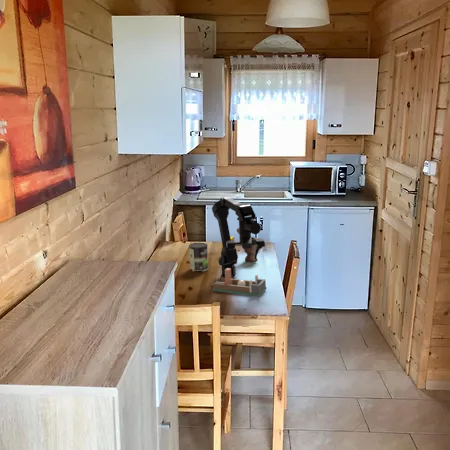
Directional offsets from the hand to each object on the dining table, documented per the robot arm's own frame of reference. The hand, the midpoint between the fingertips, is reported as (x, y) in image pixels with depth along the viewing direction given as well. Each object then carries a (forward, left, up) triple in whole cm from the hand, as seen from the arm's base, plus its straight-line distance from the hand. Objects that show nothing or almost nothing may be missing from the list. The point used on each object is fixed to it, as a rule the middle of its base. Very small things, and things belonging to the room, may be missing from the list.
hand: (245, 260), depth 243 cm
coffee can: (-35, +17, -14) cm, 41 cm away
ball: (0, -6, -10) cm, 12 cm away
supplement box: (-30, +47, -14) cm, 57 cm away
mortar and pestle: (-14, +39, -14) cm, 43 cm away
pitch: (-1, -6, -13) cm, 15 cm away
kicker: (-10, -6, -12) cm, 17 cm away
